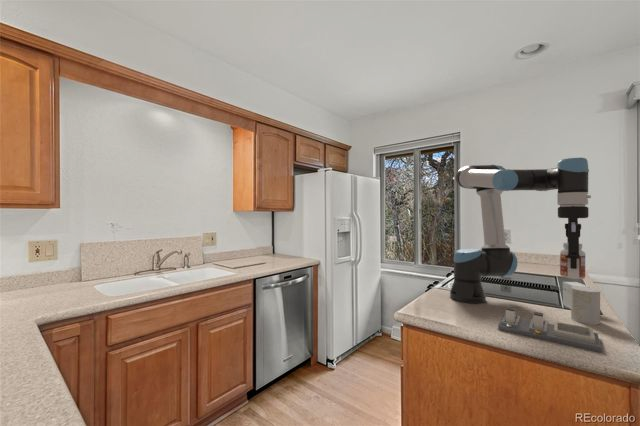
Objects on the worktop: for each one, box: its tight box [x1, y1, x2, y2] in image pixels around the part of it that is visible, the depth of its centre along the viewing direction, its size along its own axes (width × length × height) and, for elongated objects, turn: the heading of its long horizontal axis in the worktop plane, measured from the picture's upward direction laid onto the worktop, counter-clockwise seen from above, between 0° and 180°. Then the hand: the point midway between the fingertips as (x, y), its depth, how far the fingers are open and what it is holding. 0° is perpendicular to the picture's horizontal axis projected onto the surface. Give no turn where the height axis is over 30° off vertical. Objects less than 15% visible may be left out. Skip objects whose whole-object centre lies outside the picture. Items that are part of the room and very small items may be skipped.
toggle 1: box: [505, 306, 516, 324], centre depth 103 cm, size 2×2×5 cm
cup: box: [570, 286, 601, 326], centre depth 108 cm, size 8×8×12 cm
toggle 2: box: [533, 311, 544, 330], centre depth 98 cm, size 2×2×5 cm
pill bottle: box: [559, 242, 586, 280], centre depth 93 cm, size 6×6×11 cm
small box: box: [562, 281, 590, 310], centre depth 121 cm, size 8×6×10 cm
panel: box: [497, 313, 603, 353], centre depth 97 cm, size 26×13×3 cm, turn 50°
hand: (572, 276), depth 93 cm, fingers closed on pill bottle, 6 cm apart
